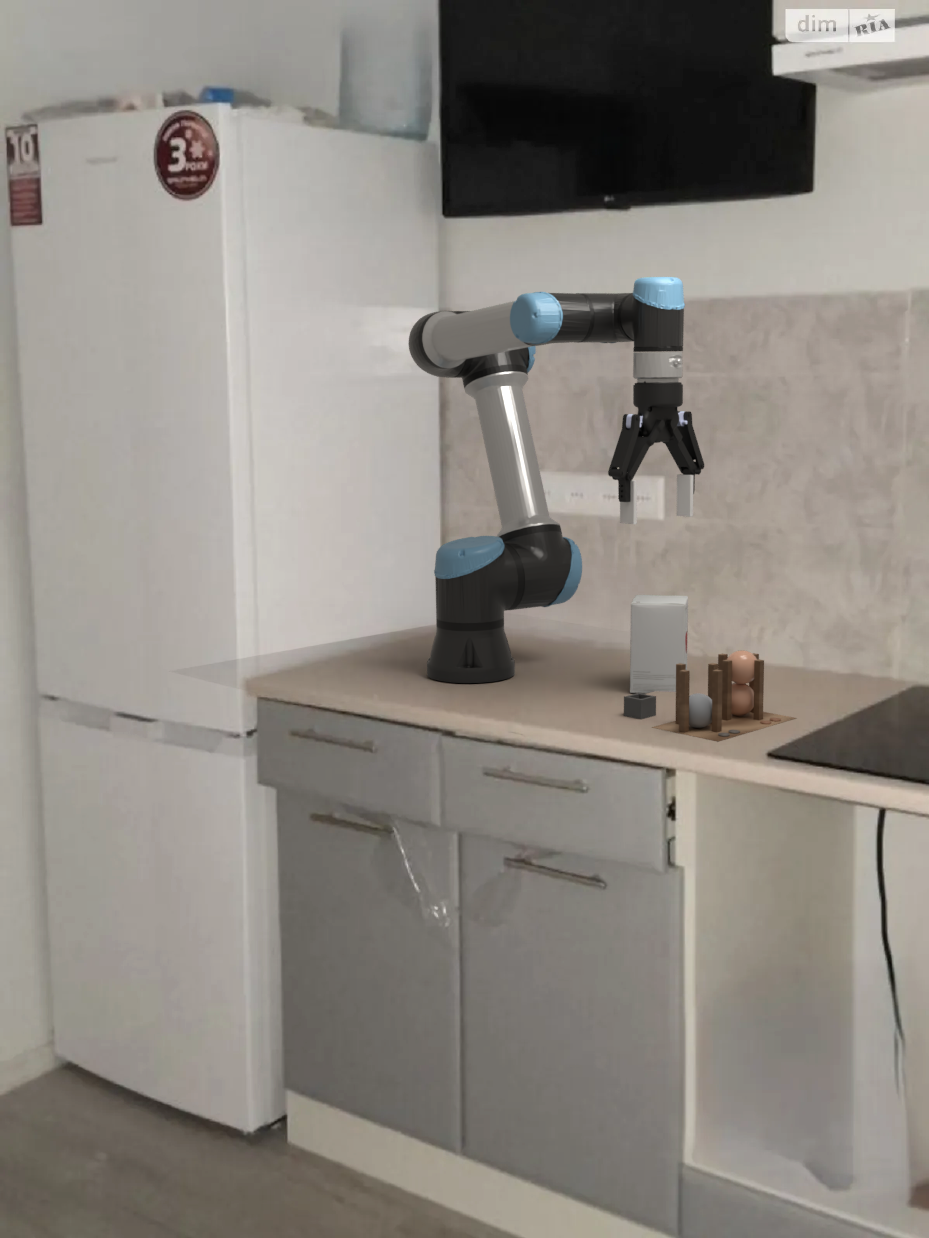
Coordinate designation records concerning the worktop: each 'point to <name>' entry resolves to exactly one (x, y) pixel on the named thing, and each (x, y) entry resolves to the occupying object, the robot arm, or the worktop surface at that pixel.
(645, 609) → the supplement box
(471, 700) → the worktop surface
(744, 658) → the ball loose
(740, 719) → the rack
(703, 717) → the ball
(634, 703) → the stand
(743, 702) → the ball
